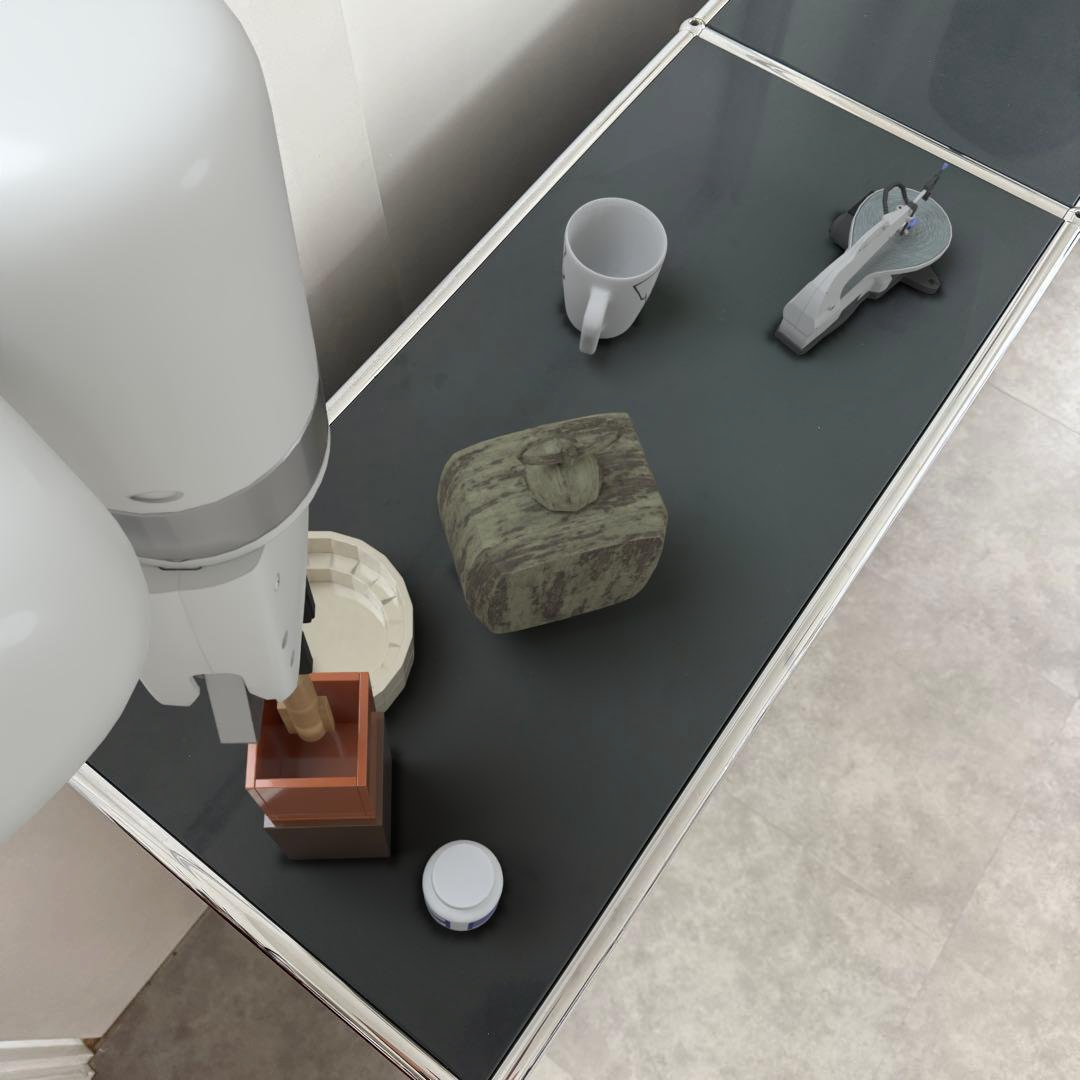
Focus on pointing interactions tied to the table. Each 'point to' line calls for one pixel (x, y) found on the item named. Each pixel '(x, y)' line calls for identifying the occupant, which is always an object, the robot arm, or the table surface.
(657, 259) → the mug
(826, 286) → the jigsaw machine
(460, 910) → the pill bottle
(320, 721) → the stirring stick
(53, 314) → the robot arm
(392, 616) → the bowl
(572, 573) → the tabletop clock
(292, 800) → the brown boxy piece
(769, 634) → the table surface
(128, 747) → the table surface
